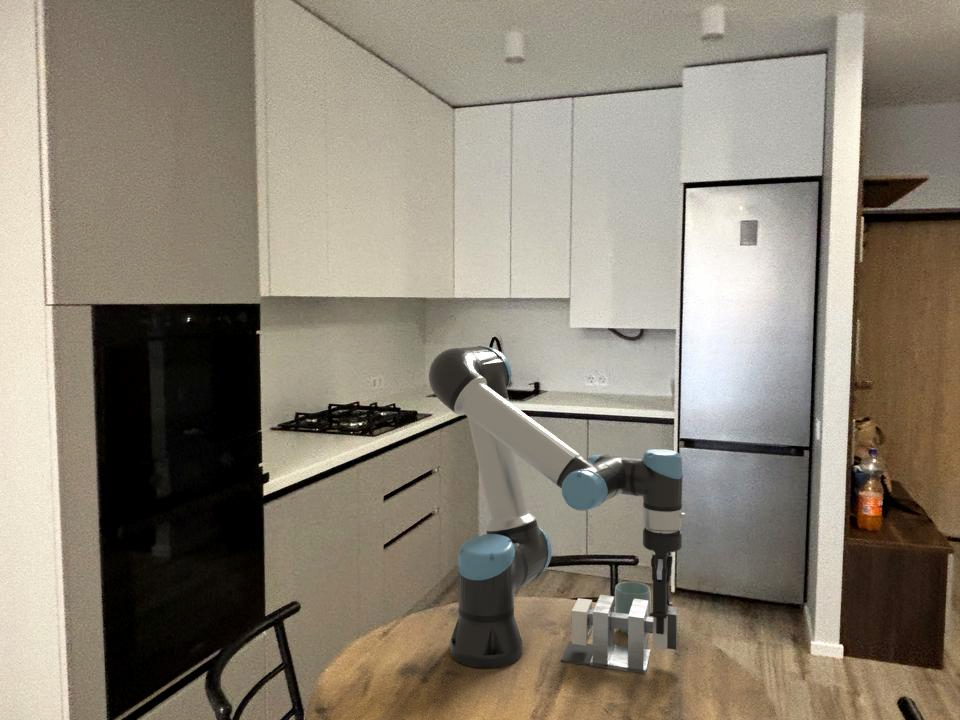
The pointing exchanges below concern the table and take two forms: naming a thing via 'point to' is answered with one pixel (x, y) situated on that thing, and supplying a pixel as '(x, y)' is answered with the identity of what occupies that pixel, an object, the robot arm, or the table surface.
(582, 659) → the mat
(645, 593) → the cup
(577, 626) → the block
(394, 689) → the table surface
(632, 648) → the bearing block
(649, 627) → the shaft
